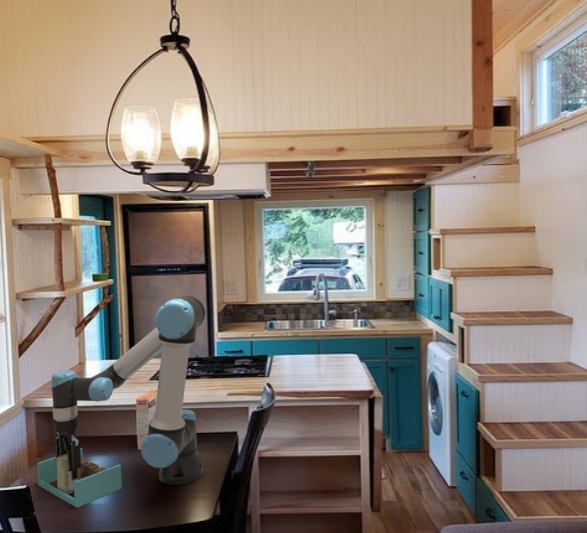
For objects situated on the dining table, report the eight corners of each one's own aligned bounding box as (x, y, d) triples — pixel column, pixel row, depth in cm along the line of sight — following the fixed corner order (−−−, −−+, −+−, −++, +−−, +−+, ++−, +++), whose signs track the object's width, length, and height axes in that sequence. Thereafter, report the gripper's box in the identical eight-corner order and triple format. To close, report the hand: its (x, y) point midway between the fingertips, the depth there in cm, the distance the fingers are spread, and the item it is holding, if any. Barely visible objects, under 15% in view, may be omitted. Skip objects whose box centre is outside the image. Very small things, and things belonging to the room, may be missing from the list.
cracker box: (151, 451, 207) (148, 399, 206) (137, 450, 208) (134, 399, 207) (166, 438, 220) (164, 389, 220) (153, 437, 222) (151, 389, 221)
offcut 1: (89, 477, 185) (88, 460, 185) (81, 480, 182) (80, 463, 182) (82, 473, 188) (81, 457, 188) (74, 476, 186) (73, 460, 185)
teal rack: (121, 488, 175) (120, 465, 175) (76, 507, 163) (75, 482, 163) (82, 469, 192) (81, 448, 191) (38, 485, 179) (37, 463, 179)
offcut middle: (99, 482, 180) (98, 465, 180) (91, 485, 178) (90, 468, 178) (92, 478, 183) (91, 462, 183) (84, 481, 181) (83, 465, 181)
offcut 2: (110, 487, 176) (110, 470, 176) (102, 491, 174) (101, 473, 173) (102, 484, 179) (102, 466, 179) (94, 487, 177) (93, 470, 176)
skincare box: (65, 496, 171) (63, 460, 170) (57, 493, 173) (55, 457, 172) (82, 488, 176) (80, 453, 176) (74, 485, 178) (72, 450, 178)
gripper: (90, 419, 171) (94, 488, 172) (63, 410, 182) (67, 475, 183) (68, 426, 165) (72, 498, 166) (42, 416, 176) (45, 483, 177)
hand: (69, 485), depth 174 cm, fingers open, 5 cm apart
